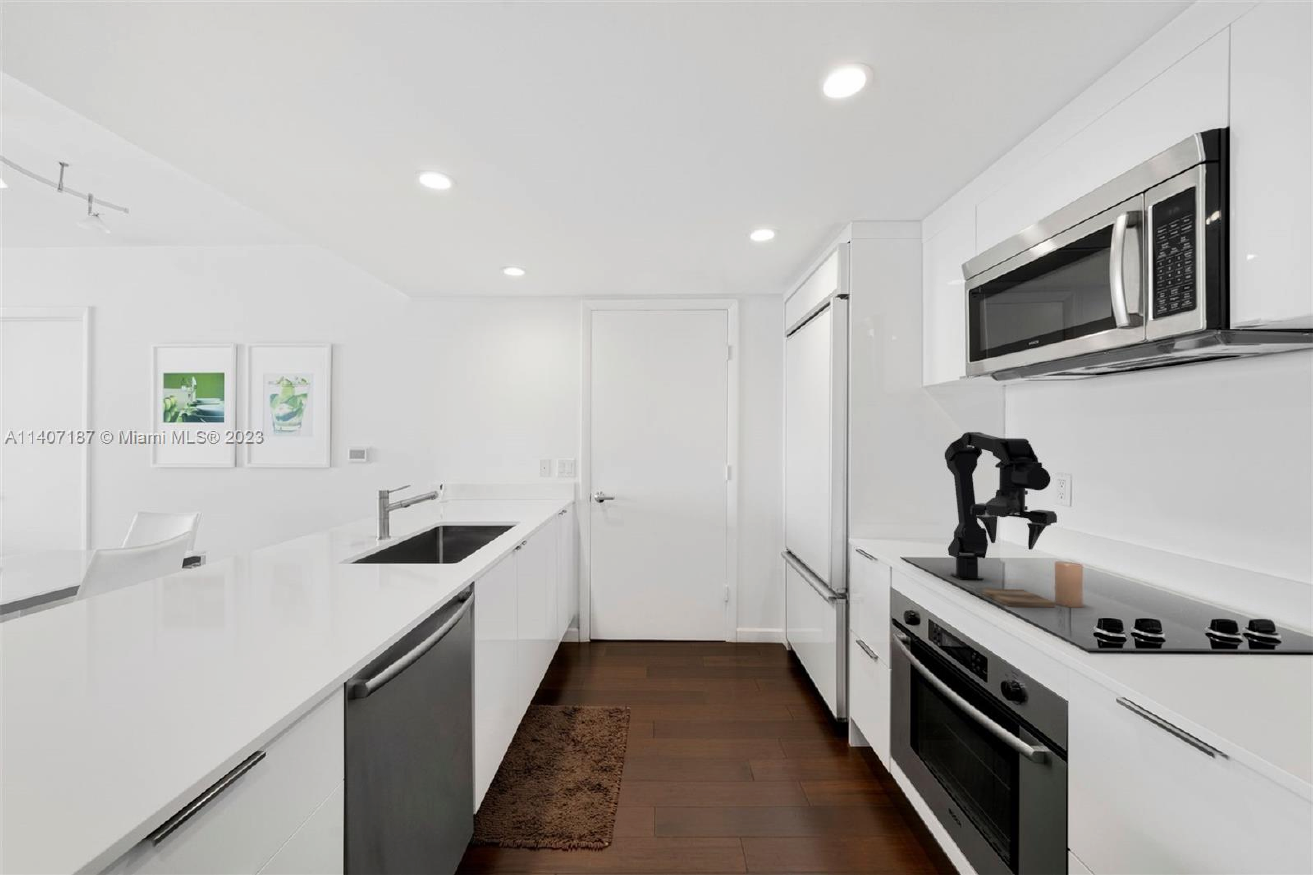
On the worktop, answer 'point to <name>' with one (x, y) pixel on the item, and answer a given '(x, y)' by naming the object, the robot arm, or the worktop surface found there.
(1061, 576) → the terracotta canister
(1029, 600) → the walnut board
